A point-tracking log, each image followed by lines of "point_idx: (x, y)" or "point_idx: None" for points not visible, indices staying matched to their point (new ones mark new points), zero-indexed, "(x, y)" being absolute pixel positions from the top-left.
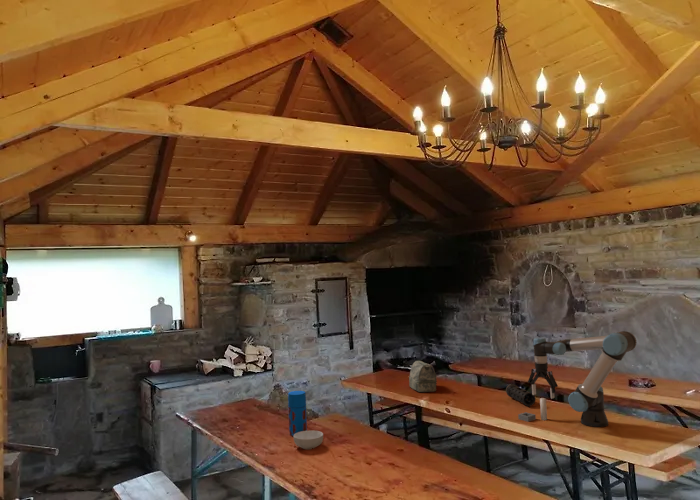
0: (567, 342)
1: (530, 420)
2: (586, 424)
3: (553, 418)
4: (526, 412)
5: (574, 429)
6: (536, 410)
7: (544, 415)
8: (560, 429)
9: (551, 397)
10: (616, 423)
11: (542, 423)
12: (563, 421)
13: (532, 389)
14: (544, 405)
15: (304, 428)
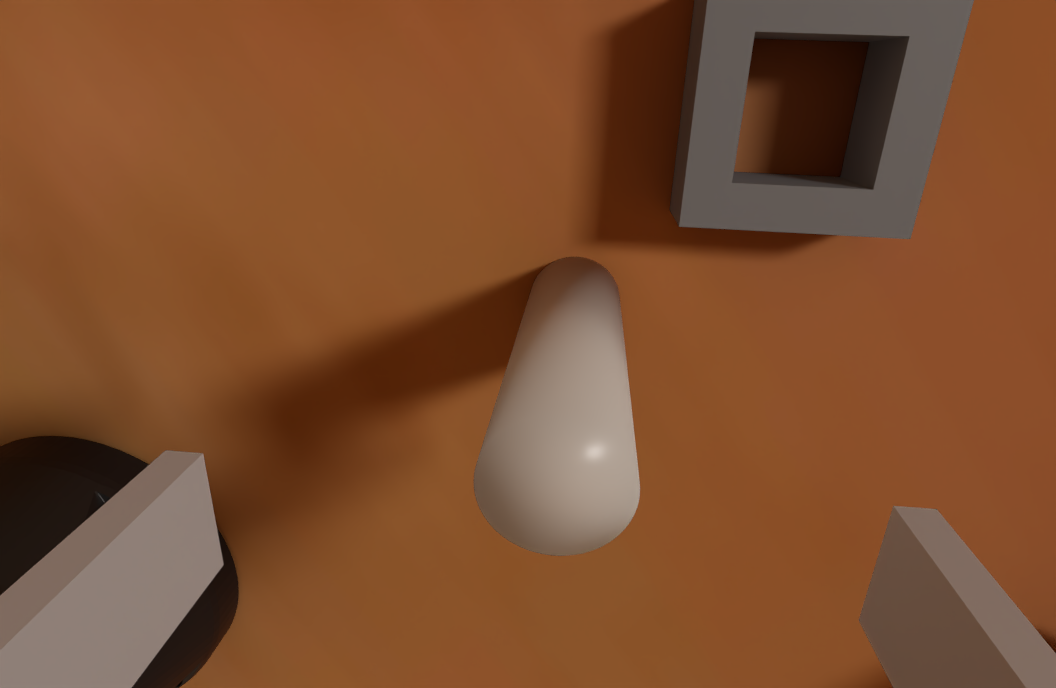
0: None
1: (688, 62)
2: (64, 443)
3: None
4: (890, 232)
5: (16, 191)
6: None
7: (535, 292)
8: (100, 32)
9: (153, 469)
10: None
11: (467, 98)
12: (345, 402)
13: (1045, 668)
14: (507, 372)
15: None
